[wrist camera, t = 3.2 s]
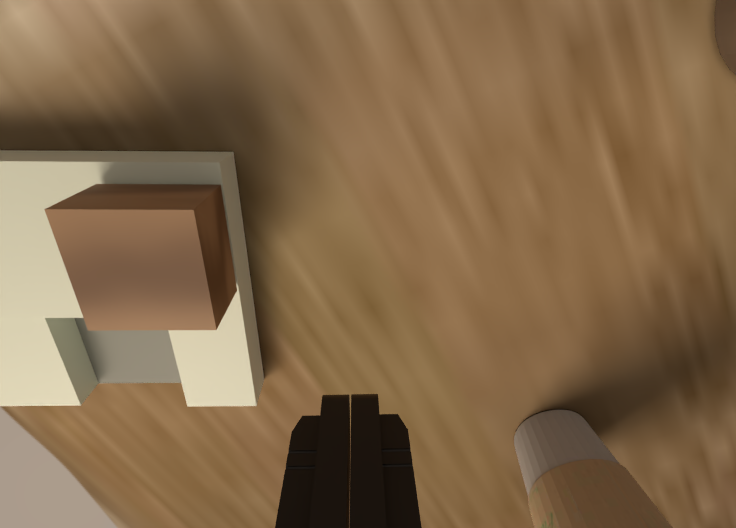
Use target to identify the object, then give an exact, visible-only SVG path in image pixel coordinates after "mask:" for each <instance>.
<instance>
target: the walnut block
mask: <svg viewBox="0 0 736 528" xmlns="http://www.w3.org/2000/svg"><path fill="white" fill-rule="evenodd" d="M44 210H45V213H46V215H47V218H48V221H49V224H50V226H51V229H52V232H53V235H54V238H55V240H56V243H57V246H58V249H59V251H60V254H61V257H62V260H63V262H64V265H65V268H66V271H67V273H68V276H69V279H70V282H71V284H72V287H73V290H74V293H75V296H76V298H77V301H78V304H79V307H80V309H81V312H82V315H83V318H84V320H85V323H86V326H87V329H88V331H102V330H217V328H218V326H219V324H220V322H221V320H222V319H223V317H224V315H225V313H226V311H227V309H228V307H229V305H230V303H231V301H232V299H233V297H234V295H235V293H236V292H237V287H236V280H235V274H234V267H233V261H232V254H231V248H230V242H229V235H228V229H227V222H226V216H225V209H224V203H223V196H222V190H221V185H217V184H95V185H93V186H91V187H89V188H87V189H85V190H83V191H81V192H79V193H77V194H75V195H73V196H71V197H69V198H66V199H64V200H62V201H60V202H58V203H56V204H54V205H52V206H50V207H48V208H46V209H44Z"/></svg>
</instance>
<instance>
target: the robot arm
mask: <svg viewBox="0 0 736 528" xmlns="http://www.w3.org/2000/svg"><path fill="white" fill-rule="evenodd" d="M715 37H716V40H717V44H718V48H719V51H720V55H721V56H722V58H723V60H724V61H725V63H726V65H727V66H728V68H729V69H730V70H731V71H732V72H733V73H734V74H735V75H736V0H717V2H716V9H715ZM349 496H350V528H421V521H420V514H419V507H418V500H417V493H416V485H415V478H414V471H413V466H412V457H411V452H410V442H409V435H408V429H407V428H406V426H405V425H404V423H403V422H402V420H401V419H400V417H399V415H398V414H381V415H379V403H378V394H353V395H352V396H351V461H350V403H349V395H323V396H322V405H321V414H320V416H302V417H301V419H300V420H299V422H298V423H297V425H296V426H295V428H294V429H293V431H292V434H291V440H290V445H289V454H288V457H287V463H286V470H285V474H284V480H283V486H282V492H281V497H280V503H279V509H278V515H277V520H276V526H275V528H349Z"/></svg>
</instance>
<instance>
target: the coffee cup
mask: <svg viewBox="0 0 736 528" xmlns="http://www.w3.org/2000/svg"><path fill="white" fill-rule="evenodd" d="M514 445H515V450H516V453H517V457H518V461H519V464H520V468H521V472H522V475H523V479H524V483H525V486H526V490H527V494H528V504H529V509H530V513H531V516H532V520H533V524H534V527H535V528H673V527H672V526H671V525H670V524H669V522H668V521H667V520H666V519H665V517H664V516H663V515H662V514H661V512H660V511H659V510H658V508H657V507H656V506H655V505H654V503H653V502H652V501H651V500H650V498H649V497H648V496H647V494H646V493H645V492H644V491H643V489H642V488H641V487H640V486H639V484H638V483H637V482H636V480H635V479H634V478H633V477H632V475H631V474H630V473H629V472H628V470H627V469H626V468H625V467H623V466H622V465H621V464H619V462H618V461H617V460H616V459H615V457H614V456H613V455H612V454H611V452H610V451H609V450H608V448H607V447H606V446H605V445H604V443H603V442H602V441H601V440H600V438H599V437H598V436H597V434H596V433H595V432H594V431H593V429H592V428H591V427H590V426H589V424H588V423H587V422H586V420H585V419H584V418H583V417H582V416H581V415H579V414H578V413H576V412H573V411H569V410H549V411H545V412H541V413H538V414H535V415H533V416H531V417H529V418H528V419H526V420H525V421H524V422H523V423H522V424H521V425H520V426H519V427H518V429H517V431H516V433H515V436H514Z"/></svg>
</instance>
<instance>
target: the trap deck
mask: <svg viewBox="0 0 736 528" xmlns="http://www.w3.org/2000/svg"><path fill="white" fill-rule="evenodd" d="M95 184H217V185H221V190H222V196H223V203H224V209H225V216H226V222H227V229H228V235H229V242H230V248H231V254H232V261H233V267H234V274H235V280H236V287H237V292H236V293H235V295H234V297H233V299H232V301H231V303H230V305H229V307H228V309H227V311H226V313H225V315H224V317H223V319H222V320H221V322H220V324H219V326H218V328H217V330H102V331H88V329H87V326H86V323H85V320H84V318H83V315H82V312H81V309H80V307H79V304H78V301H77V298H76V296H75V293H74V290H73V287H72V284H71V282H70V279H69V276H68V273H67V271H66V268H65V265H64V262H63V260H62V257H61V254H60V251H59V249H58V246H57V243H56V240H55V238H54V235H53V232H52V229H51V226H50V224H49V221H48V218H47V215H46V213H45V210H44V209H46V208H48V207H50V206H52V205H54V204H56V203H58V202H60V201H62V200H64V199H66V198H69V197H71V196H73V195H75V194H77V193H79V192H81V191H83V190H85V189H87V188H89V187H91V186H93V185H95ZM263 382H264V374H263V367H262V359H261V352H260V345H259V337H258V330H257V322H256V315H255V308H254V300H253V293H252V285H251V278H250V271H249V263H248V256H247V248H246V241H245V233H244V226H243V219H242V211H241V204H240V196H239V189H238V182H237V174H236V167H235V159H234V152H190V151H35V150H0V406H63V405H82V403H83V402H84V401H85V400H86V398H87V397H88V396H89V394H90V393H91V392H92V391H93V389H94V388H95V387H96V386H97V384H98V383H182V386H183V390H184V394H185V398H186V402H187V406H257V402H258V399H259V395H260V392H261V388H262V385H263Z"/></svg>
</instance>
